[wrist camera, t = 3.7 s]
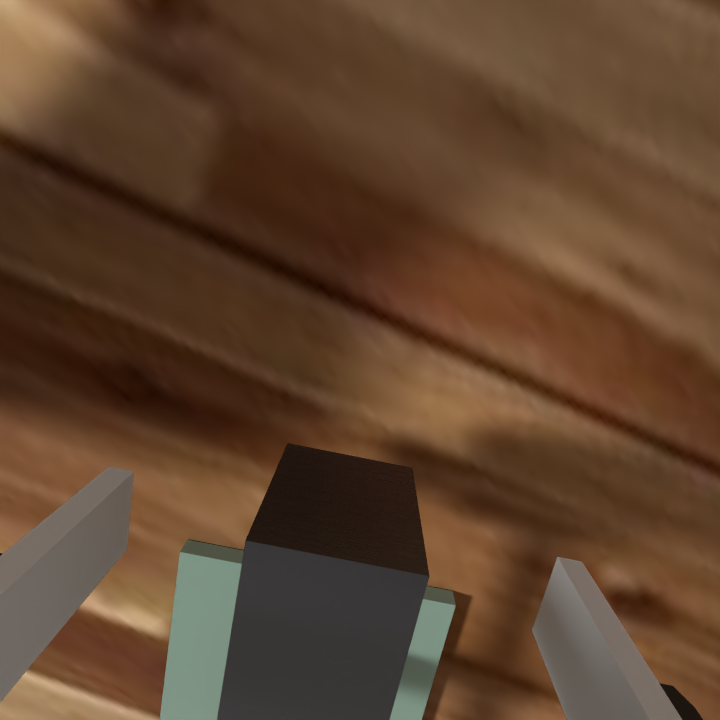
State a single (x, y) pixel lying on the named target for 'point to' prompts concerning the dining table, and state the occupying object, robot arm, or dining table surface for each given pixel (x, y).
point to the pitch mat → (213, 629)
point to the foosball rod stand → (326, 592)
